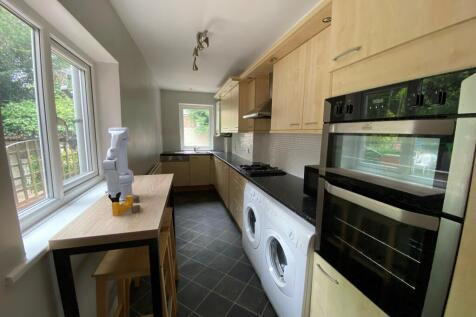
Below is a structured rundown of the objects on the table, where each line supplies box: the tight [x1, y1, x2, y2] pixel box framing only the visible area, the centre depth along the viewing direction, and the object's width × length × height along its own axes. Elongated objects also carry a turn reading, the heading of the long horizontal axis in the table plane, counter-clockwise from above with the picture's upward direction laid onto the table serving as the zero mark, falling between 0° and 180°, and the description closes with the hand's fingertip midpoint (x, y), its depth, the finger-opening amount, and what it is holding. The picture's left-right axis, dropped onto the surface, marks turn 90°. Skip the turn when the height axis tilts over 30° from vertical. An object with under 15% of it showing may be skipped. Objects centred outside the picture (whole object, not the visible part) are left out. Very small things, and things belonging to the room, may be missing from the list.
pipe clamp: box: [111, 195, 134, 217], centre depth 100 cm, size 12×4×6 cm, turn 174°
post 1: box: [133, 195, 140, 204], centre depth 112 cm, size 4×4×3 cm
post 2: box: [130, 204, 141, 214], centre depth 99 cm, size 4×4×3 cm
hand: (116, 206), depth 101 cm, fingers closed
